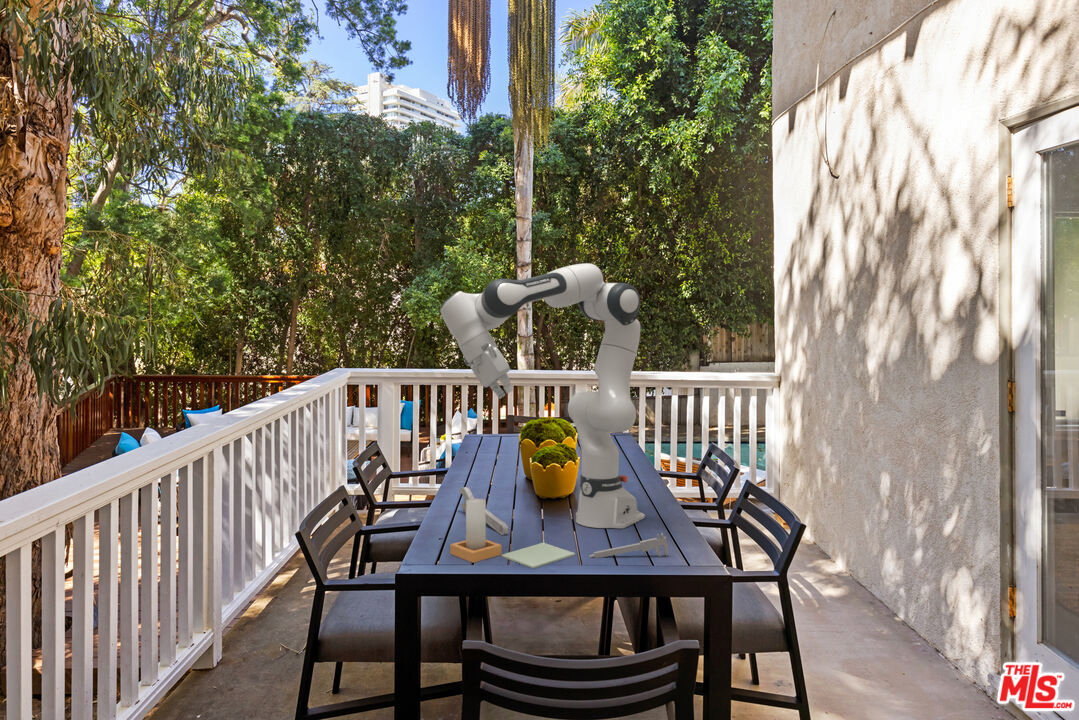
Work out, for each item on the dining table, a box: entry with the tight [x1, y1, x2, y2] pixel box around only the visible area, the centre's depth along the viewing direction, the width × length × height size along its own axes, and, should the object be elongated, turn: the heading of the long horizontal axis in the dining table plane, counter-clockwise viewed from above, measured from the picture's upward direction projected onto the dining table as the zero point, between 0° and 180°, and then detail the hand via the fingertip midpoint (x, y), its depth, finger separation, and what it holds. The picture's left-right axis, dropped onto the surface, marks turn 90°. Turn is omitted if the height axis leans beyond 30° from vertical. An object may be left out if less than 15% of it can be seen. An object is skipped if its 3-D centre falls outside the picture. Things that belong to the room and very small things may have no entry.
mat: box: [500, 542, 576, 570], centre depth 187 cm, size 15×12×1 cm
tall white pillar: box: [465, 498, 487, 551], centre depth 188 cm, size 5×5×14 cm
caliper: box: [589, 532, 669, 559], centre depth 187 cm, size 20×1×6 cm, turn 94°
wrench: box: [458, 486, 509, 536], centre depth 217 cm, size 8×2×30 cm
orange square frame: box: [449, 539, 502, 564], centre depth 188 cm, size 9×9×2 cm
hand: (506, 394), depth 191 cm, fingers open, 8 cm apart
